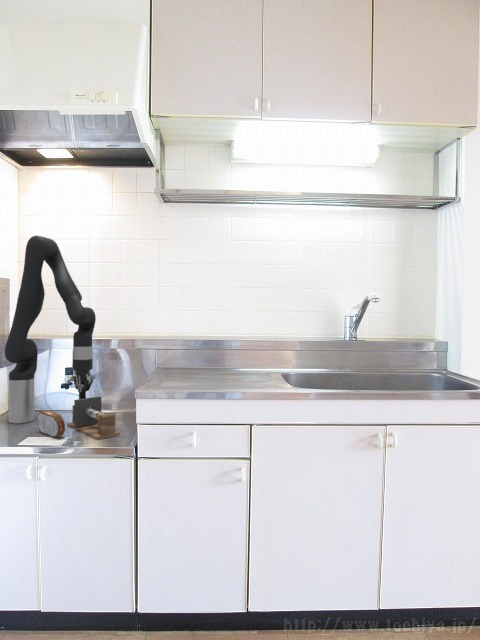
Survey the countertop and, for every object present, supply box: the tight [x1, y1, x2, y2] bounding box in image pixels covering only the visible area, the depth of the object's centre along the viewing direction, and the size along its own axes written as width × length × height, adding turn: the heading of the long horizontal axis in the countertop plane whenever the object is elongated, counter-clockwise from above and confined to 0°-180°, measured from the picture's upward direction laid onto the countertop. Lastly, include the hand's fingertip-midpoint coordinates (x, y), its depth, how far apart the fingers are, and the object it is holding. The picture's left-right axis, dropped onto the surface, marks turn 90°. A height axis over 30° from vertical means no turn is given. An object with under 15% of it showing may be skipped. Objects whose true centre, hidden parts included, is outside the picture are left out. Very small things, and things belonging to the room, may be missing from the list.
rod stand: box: [67, 404, 121, 441], centre depth 160 cm, size 24×9×8 cm, turn 46°
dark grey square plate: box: [73, 396, 102, 427], centre depth 163 cm, size 2×10×10 cm, turn 136°
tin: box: [37, 409, 66, 439], centre depth 153 cm, size 15×3×8 cm, turn 53°
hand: (82, 401), depth 166 cm, fingers closed
